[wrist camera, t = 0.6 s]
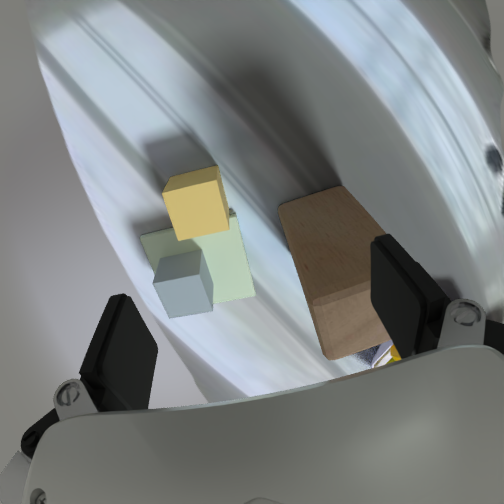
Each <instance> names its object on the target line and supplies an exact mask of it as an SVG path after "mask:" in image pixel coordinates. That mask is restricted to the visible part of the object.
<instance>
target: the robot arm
mask: <svg viewBox="0 0 504 504" xmlns="http://www.w3.org/2000/svg"><path fill="white" fill-rule="evenodd" d="M370 253H371V292H370V298H371V303H372V306H373V308H374V309H375V311H376V313H377V315H378V316H379V318H380V320H381V322H382V324H383V325H384V327H385V329H386V331H387V333H388V335H389V336H390V338H391V340H392V342H393V344H394V346H395V348H396V350H397V351H398V353H399V355H400V357H401V360H398V361H395V362H392V363H388V364H385V365H382V366H378V367H375V368H372V369H368V370H365V371H361V372H358V373H354V374H351V375H347V376H344V377H340V378H336V379H332V380H328V381H324V382H320V383H316V384H312V385H308V386H303V387H299V388H294V389H290V390H285V391H280V392H275V393H270V394H265V395H259V396H254V397H248V398H242V399H235V400H229V401H222V402H215V403H207V404H199V405H191V406H181V407H171V408H159V409H148V404H149V398H150V393H151V387H152V381H153V376H154V370H155V365H156V359H157V354H158V347H157V343H156V342H155V340H154V338H153V336H152V335H151V333H150V331H149V329H148V328H147V326H146V324H145V322H144V321H143V319H142V317H141V315H140V313H139V311H138V310H137V308H136V306H135V304H134V302H133V301H132V298H131V297H130V296H127V295H126V294H118V295H113V296H111V297H110V298H109V301H108V303H107V305H106V307H105V310H104V312H103V314H102V316H101V319H100V321H99V323H98V326H97V328H96V331H95V333H94V335H93V338H92V340H91V343H90V345H89V348H88V350H87V353H86V356H85V358H84V361H83V363H82V366H81V369H80V371H79V373H80V375H81V378H80V380H78V379H70V380H67V381H65V382H63V383H62V384H61V385H60V386H59V387H58V389H57V390H56V392H55V394H54V398H53V402H54V406H55V408H54V409H53V410H51V411H50V412H49V413H48V414H46V415H45V416H44V417H43V418H41V419H40V420H39V421H37V422H36V423H35V424H34V425H32V426H31V427H30V428H29V429H28V430H27V431H26V432H25V433H24V435H23V437H22V440H21V449H22V451H21V452H20V451H17V452H16V453H15V455H14V456H13V457H12V459H11V460H10V462H9V463H8V464H7V466H6V467H5V468H4V470H3V471H2V472H1V474H0V501H1V503H2V504H504V324H502V323H498V322H494V321H491V320H487V319H486V316H485V311H484V309H483V308H482V307H481V306H480V305H479V304H478V303H476V302H475V301H473V300H469V299H456V300H454V301H452V302H451V300H450V299H449V298H448V297H447V295H446V294H445V293H444V292H443V291H442V289H441V288H440V287H439V286H438V285H437V284H436V282H435V281H434V280H433V279H432V278H431V276H430V275H429V274H428V273H427V272H426V271H425V270H424V268H423V267H422V266H421V265H420V264H419V263H418V262H415V261H414V259H413V258H412V257H411V256H410V255H409V254H408V253H407V252H406V251H405V250H404V248H403V247H402V246H401V245H400V244H399V243H398V242H397V241H396V240H395V239H394V238H393V237H392V235H390V234H384V235H380V236H376V237H375V238H374V241H372V242H371V244H370Z"/></svg>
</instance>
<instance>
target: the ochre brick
mask: <svg viewBox="0 0 504 504" xmlns="http://www.w3.org/2000/svg"><path fill="white" fill-rule="evenodd" d="M162 195H163V198H164V201H165V204H166V207H167V210H168V213H169V216H170V219H171V222H172V225H173V227H174V230H175V233H176V236H177V239H178V241H181V240H185V239H190V238H194V237H199V236H203V235H208V234H213V233H217V232H222V231H227V230H230V228H229V207H228V203H227V199H226V195H225V191H224V187H223V183H222V179H221V175H220V171H219V167H218V165H216V166H212V167H208V168H204V169H200V170H195V171H191V172H187V173H183V174H180V175H176V176H172V177H170V178H169V180H168V182H167V184H166V186H165V188H164V190H163V192H162Z"/></svg>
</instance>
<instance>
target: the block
mask: <svg viewBox="0 0 504 504" xmlns="http://www.w3.org/2000/svg"><path fill="white" fill-rule="evenodd" d="M278 215H279V218H280V221H281V224H282V227H283V230H284V233H285V236H286V239H287V242H288V245H289V249H290V252H291V255H292V258H293V261H294V264H295V267H296V270H297V273H298V276H299V279H300V282H301V285H302V288H303V292H304V295H305V298H306V301H307V304H308V307H309V310H310V314H311V317H312V320H313V323H314V326H315V330H316V333H317V336H318V339H319V343H320V346H321V349H322V352H323V355H324V356H325V357H326V358H327V359H328V360H337V359H340V358H343V357H346V356H348V355H351V354H354V353H357V352H360V351H363V350H365V349H368V348H371V347H374V346H376V345H379V344H382V343H384V342H387V341H389V340H391V338H390V336H389V335H388V333H387V331H386V329H385V327H384V325H383V324H382V322H381V320H380V318H379V316H378V315H377V313H376V311H375V309H374V308H373V306H372V303H371V298H370V292H371V253H370V244H371V242H372V241H374V238H375V237H376V236H380V235H384V234H386V233H385V232H384V230H383V229H382V228H381V227H380V226H379V225H378V223H377V222H376V221H375V220H374V219H373V218H372V217H371V215H370V214H369V213H368V212H367V211H366V210H365V209H364V208H363V206H362V205H361V204H360V203H359V202H358V201H357V200H356V199H355V198H354V197H353V195H352V194H351V193H350V192H349V191H348V190H347V189H346V188H345V187H344V186H337V187H333V188H330V189H327V190H324V191H321V192H317V193H314V194H311V195H308V196H305V197H302V198H299V199H296V200H293V201H289V202H286V203H283V204H282V205H280V206H279V207H278Z"/></svg>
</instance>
